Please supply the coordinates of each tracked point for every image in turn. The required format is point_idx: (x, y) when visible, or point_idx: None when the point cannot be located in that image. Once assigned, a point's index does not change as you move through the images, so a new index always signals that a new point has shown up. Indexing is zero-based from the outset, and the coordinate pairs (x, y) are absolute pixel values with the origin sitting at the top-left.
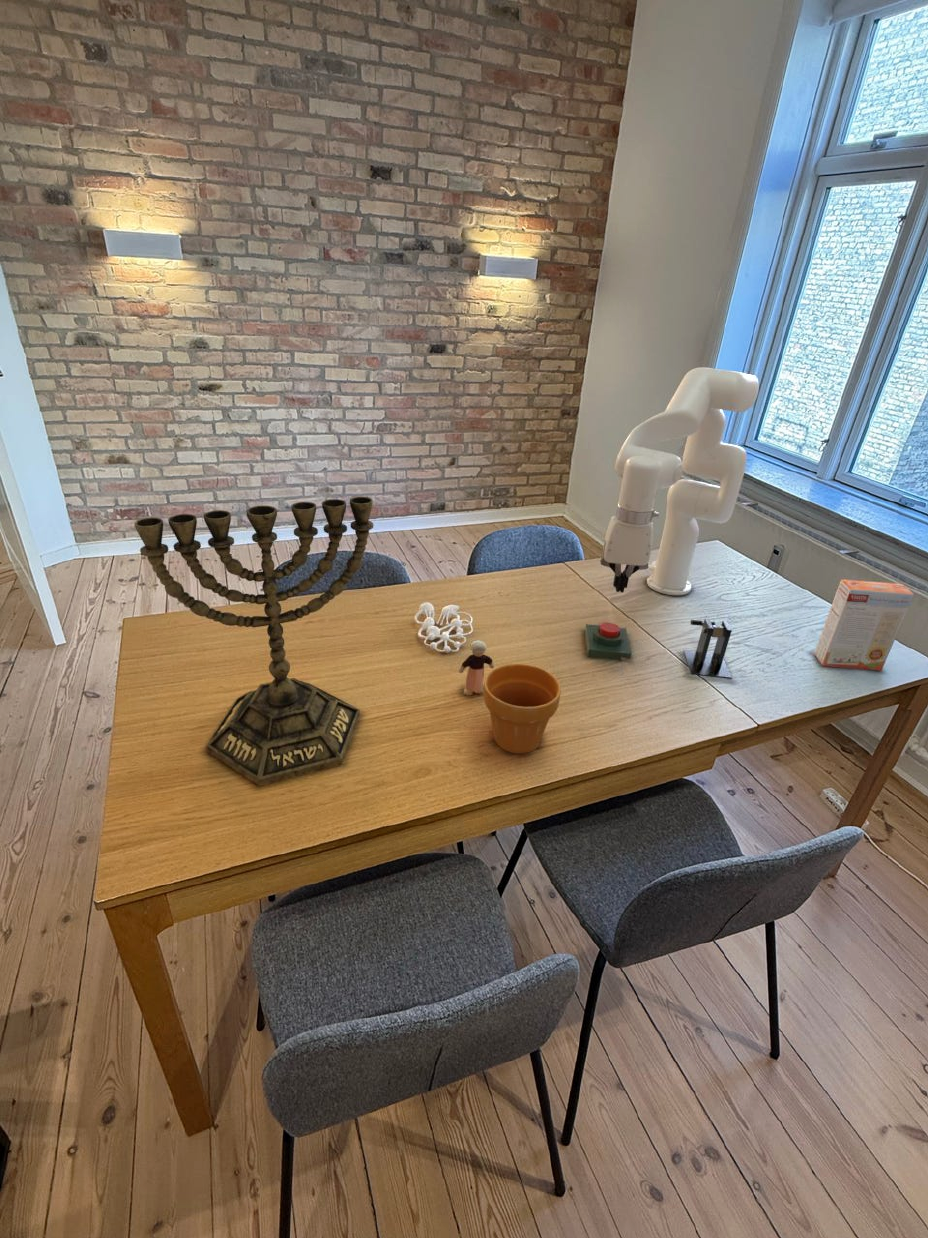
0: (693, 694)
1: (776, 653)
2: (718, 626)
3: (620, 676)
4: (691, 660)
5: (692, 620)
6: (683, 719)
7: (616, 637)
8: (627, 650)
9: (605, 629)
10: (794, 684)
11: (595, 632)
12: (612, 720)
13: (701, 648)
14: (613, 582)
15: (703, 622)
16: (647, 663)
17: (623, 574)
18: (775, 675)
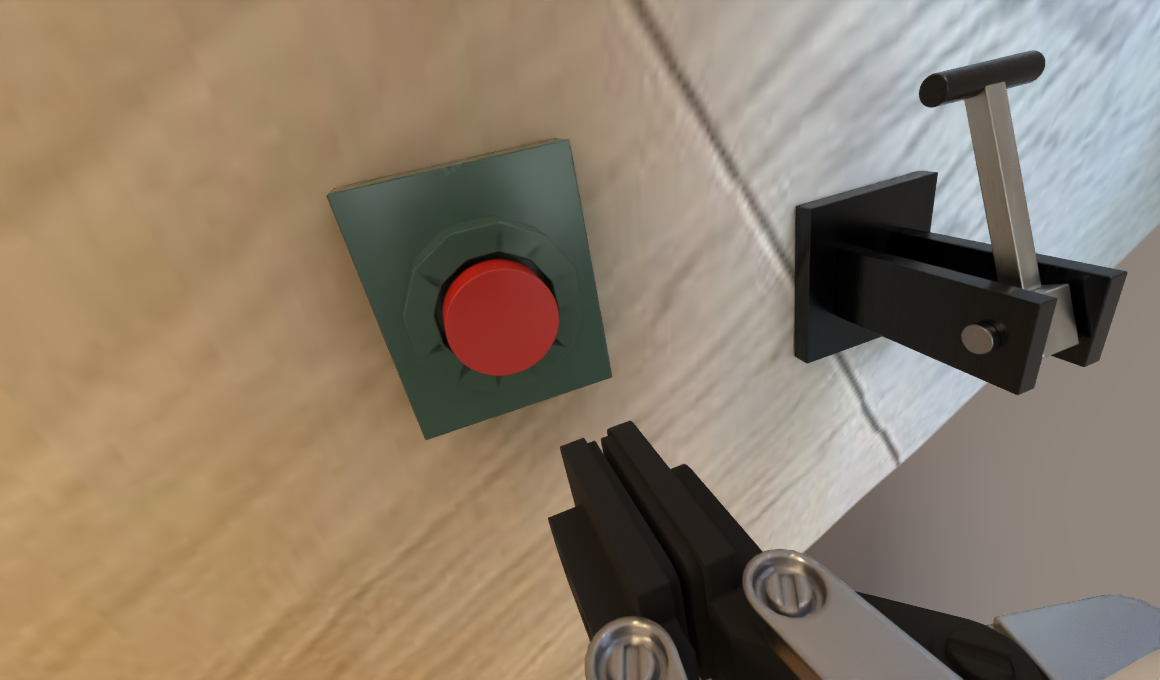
0: (786, 436)
1: (1114, 34)
2: (1061, 326)
3: None
4: (823, 277)
5: (946, 96)
6: None
7: None
8: (594, 361)
9: (484, 361)
10: (1062, 239)
11: (427, 354)
12: (574, 650)
13: (899, 322)
14: (552, 529)
15: (994, 125)
16: (663, 338)
17: (712, 635)
18: (1038, 209)
